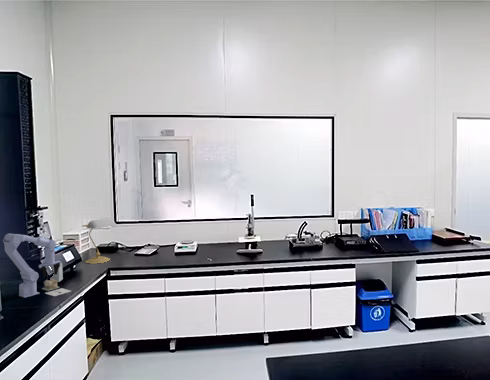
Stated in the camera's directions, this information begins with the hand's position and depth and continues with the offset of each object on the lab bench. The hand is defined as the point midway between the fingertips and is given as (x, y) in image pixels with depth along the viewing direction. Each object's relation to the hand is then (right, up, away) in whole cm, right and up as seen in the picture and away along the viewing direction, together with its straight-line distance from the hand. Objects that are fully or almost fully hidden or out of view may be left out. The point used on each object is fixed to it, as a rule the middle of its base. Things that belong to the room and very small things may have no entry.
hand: (50, 275), depth 238 cm
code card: (+10, -9, -8) cm, 16 cm away
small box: (-7, -9, +18) cm, 21 cm away
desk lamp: (-1, -7, +80) cm, 81 cm away
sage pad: (0, -9, 0) cm, 9 cm away
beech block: (0, -9, 0) cm, 9 cm away
